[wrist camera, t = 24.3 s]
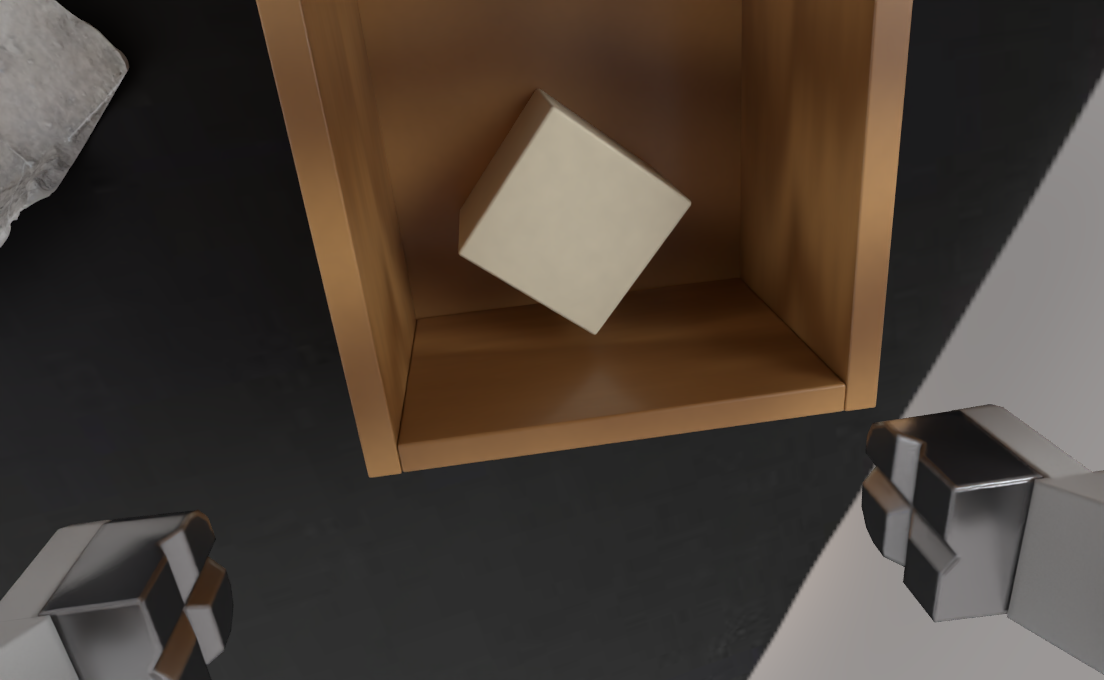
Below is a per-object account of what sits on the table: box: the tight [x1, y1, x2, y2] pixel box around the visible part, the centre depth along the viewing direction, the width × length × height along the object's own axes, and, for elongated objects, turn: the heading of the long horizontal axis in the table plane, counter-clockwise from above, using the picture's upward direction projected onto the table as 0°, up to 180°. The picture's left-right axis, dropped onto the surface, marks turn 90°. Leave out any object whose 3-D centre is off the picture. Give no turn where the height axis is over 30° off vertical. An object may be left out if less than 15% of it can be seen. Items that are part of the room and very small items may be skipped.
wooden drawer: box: [256, 0, 913, 478], centre depth 19 cm, size 16×13×9 cm
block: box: [458, 89, 691, 335], centre depth 22 cm, size 4×4×4 cm
